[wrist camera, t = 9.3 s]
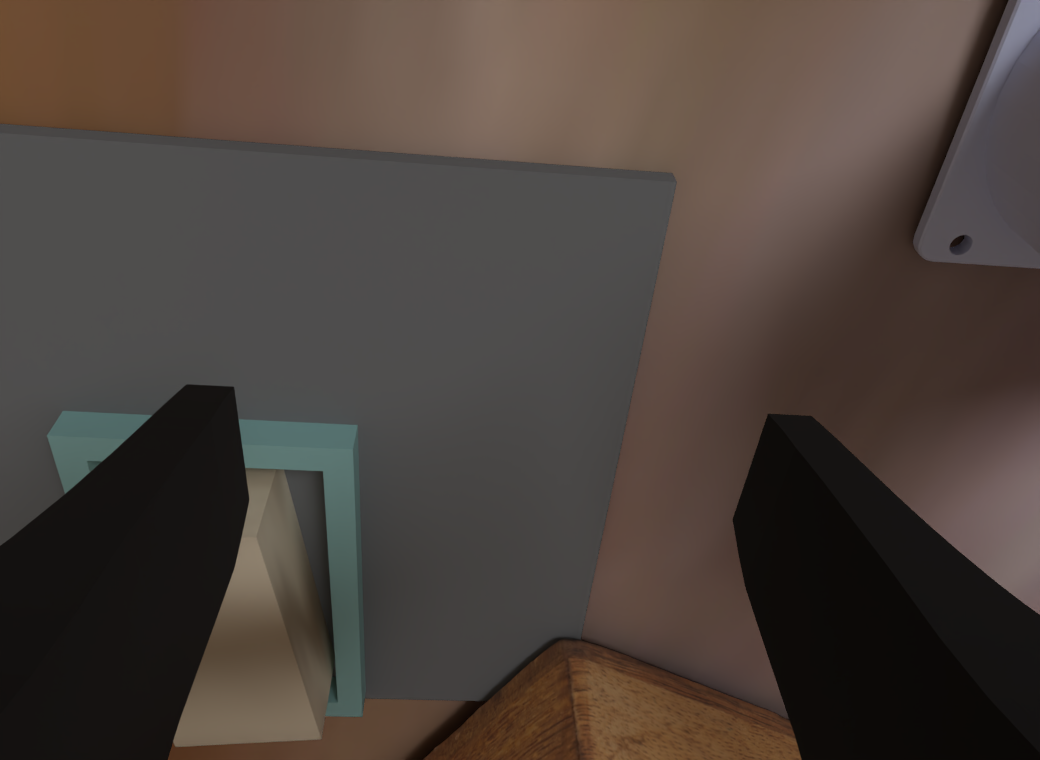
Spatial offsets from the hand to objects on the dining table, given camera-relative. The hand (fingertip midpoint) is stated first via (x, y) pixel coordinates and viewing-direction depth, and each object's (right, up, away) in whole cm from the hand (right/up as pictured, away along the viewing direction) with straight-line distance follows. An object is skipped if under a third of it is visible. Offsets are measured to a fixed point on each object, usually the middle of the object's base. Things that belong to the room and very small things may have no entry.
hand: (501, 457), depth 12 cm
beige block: (-8, -5, +14) cm, 17 cm away
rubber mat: (-6, -2, +13) cm, 14 cm away
